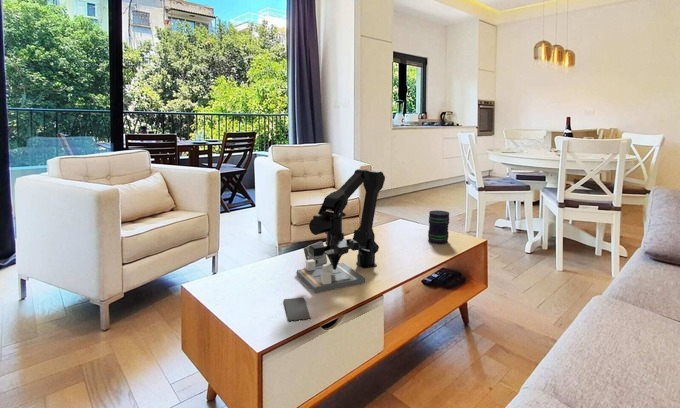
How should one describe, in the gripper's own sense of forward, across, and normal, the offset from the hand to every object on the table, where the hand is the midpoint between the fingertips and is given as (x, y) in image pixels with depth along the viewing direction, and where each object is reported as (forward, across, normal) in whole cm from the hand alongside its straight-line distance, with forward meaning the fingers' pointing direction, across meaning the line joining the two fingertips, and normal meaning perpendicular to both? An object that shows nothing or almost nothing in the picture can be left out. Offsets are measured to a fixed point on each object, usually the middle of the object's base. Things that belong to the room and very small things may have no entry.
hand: (334, 269), depth 150 cm
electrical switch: (+4, -1, +18) cm, 18 cm away
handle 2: (+1, -7, -7) cm, 10 cm away
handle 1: (+1, -7, +8) cm, 10 cm away
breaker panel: (+4, -2, 0) cm, 4 cm away
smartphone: (+4, -22, -18) cm, 29 cm away
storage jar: (+4, +67, +21) cm, 71 cm away
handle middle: (+1, -3, 0) cm, 3 cm away
